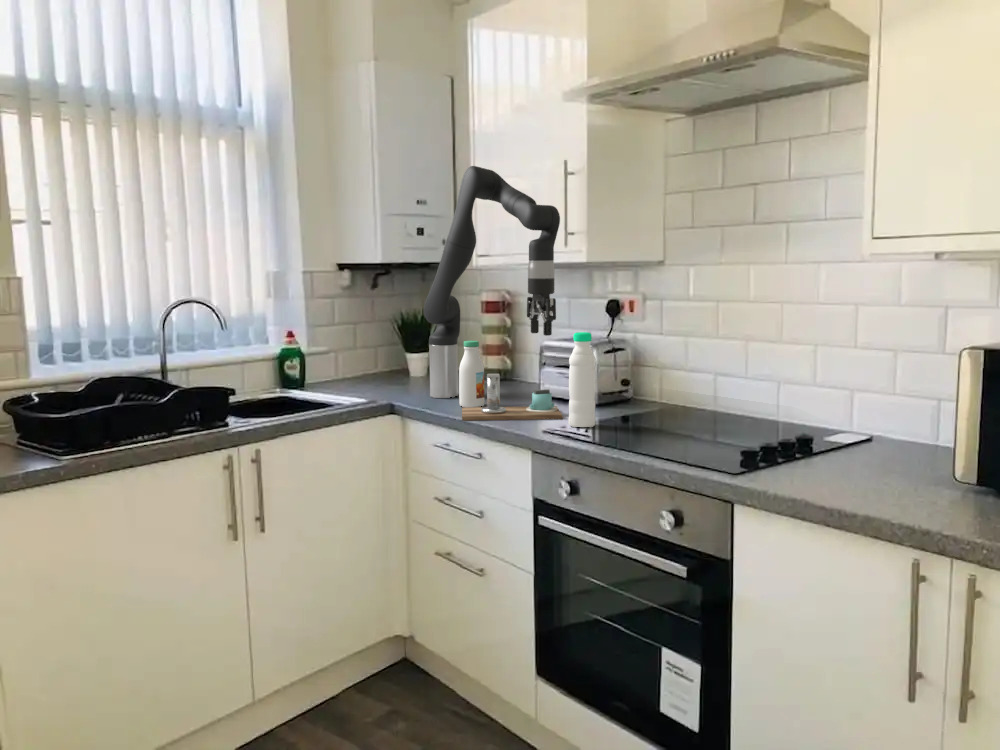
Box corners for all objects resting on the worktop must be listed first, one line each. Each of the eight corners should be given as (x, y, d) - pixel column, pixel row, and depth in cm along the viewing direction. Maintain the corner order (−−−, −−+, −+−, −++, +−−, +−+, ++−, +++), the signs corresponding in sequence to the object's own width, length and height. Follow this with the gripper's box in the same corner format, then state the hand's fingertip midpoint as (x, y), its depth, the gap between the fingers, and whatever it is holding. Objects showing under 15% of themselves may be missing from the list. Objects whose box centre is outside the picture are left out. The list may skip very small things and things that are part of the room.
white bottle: (594, 429, 208) (594, 333, 204) (567, 428, 209) (567, 333, 206) (596, 423, 215) (597, 331, 211) (570, 423, 216) (570, 331, 213)
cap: (548, 406, 233) (548, 388, 232) (557, 409, 228) (557, 390, 227) (526, 408, 230) (526, 389, 230) (534, 411, 225) (534, 392, 224)
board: (462, 411, 234) (462, 406, 234) (556, 410, 236) (556, 404, 235) (462, 420, 220) (461, 414, 220) (562, 419, 222) (562, 413, 221)
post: (481, 409, 230) (480, 372, 228) (505, 409, 230) (504, 372, 229) (481, 414, 223) (481, 376, 222) (506, 414, 223) (506, 376, 222)
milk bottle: (468, 409, 238) (467, 342, 235) (454, 405, 244) (453, 340, 241) (489, 406, 242) (489, 341, 240) (475, 403, 249) (474, 339, 246)
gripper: (564, 277, 219) (564, 335, 221) (542, 276, 232) (542, 331, 234) (539, 277, 216) (539, 336, 218) (518, 276, 229) (518, 332, 231)
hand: (540, 334), depth 226 cm, fingers open, 8 cm apart
